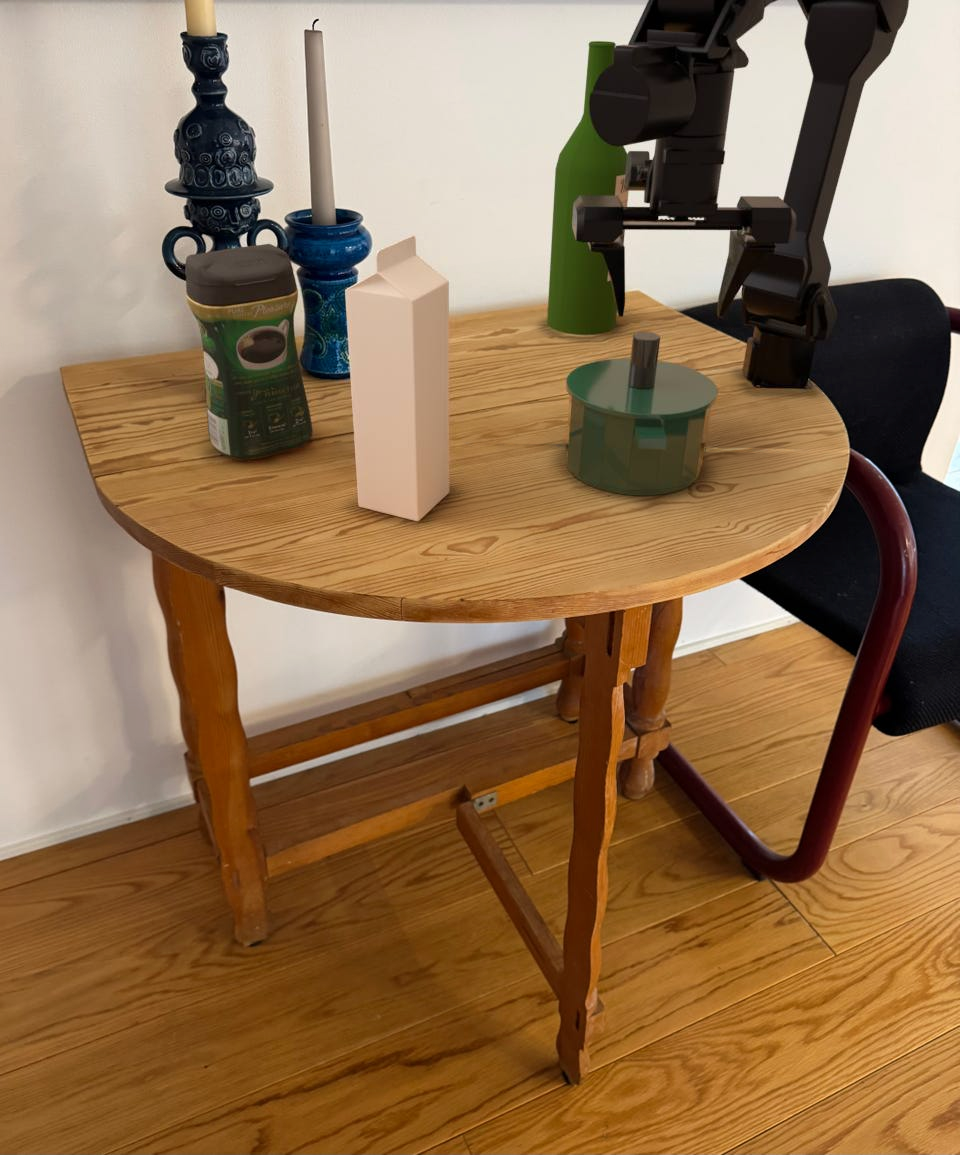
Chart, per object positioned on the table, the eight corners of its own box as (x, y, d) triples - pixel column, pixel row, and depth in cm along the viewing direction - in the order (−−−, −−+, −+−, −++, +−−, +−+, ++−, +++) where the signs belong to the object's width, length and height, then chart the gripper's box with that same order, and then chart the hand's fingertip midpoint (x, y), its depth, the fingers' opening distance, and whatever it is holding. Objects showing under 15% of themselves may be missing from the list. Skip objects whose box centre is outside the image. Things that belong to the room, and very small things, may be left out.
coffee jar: (290, 418, 98) (271, 232, 88) (323, 447, 92) (307, 252, 82) (199, 439, 93) (168, 245, 83) (228, 470, 88) (198, 267, 78)
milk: (358, 507, 82) (338, 247, 70) (392, 479, 87) (380, 229, 75) (419, 523, 80) (410, 256, 68) (451, 492, 85) (448, 238, 73)
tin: (683, 426, 98) (693, 356, 94) (716, 511, 83) (730, 432, 78) (560, 424, 98) (565, 354, 94) (572, 508, 83) (578, 429, 79)
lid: (701, 370, 92) (709, 313, 89) (729, 428, 81) (740, 364, 78) (561, 367, 92) (564, 310, 89) (570, 424, 81) (574, 361, 78)
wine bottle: (611, 342, 119) (638, 46, 101) (541, 335, 121) (556, 43, 103) (619, 320, 127) (646, 40, 109) (553, 314, 128) (568, 38, 110)
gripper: (779, 117, 86) (751, 290, 95) (572, 116, 86) (564, 288, 95) (813, 138, 77) (779, 327, 85) (582, 137, 77) (571, 326, 85)
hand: (670, 315), depth 88 cm, fingers open, 9 cm apart
